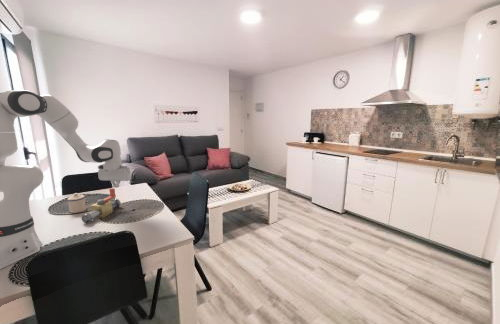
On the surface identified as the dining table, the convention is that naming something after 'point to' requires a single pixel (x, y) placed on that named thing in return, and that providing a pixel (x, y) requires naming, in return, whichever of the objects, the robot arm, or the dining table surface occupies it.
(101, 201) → the valve lever
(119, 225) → the dining table surface
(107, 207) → the valve pipe
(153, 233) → the dining table surface
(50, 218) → the dining table surface
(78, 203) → the teacup with lid
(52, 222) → the dining table surface
